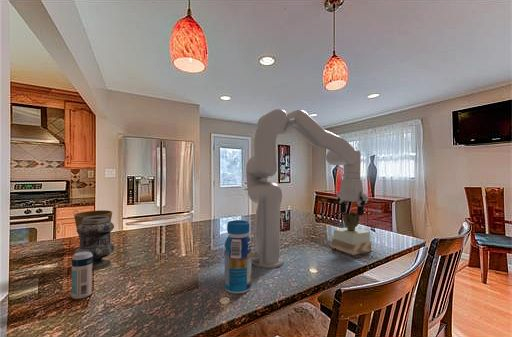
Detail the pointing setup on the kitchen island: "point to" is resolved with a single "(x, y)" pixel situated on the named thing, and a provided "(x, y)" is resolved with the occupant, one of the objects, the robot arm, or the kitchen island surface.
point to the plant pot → (82, 215)
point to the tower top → (352, 236)
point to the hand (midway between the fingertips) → (351, 213)
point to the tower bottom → (351, 247)
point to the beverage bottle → (238, 257)
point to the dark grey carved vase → (96, 239)
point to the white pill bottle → (81, 275)
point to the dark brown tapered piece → (351, 220)
